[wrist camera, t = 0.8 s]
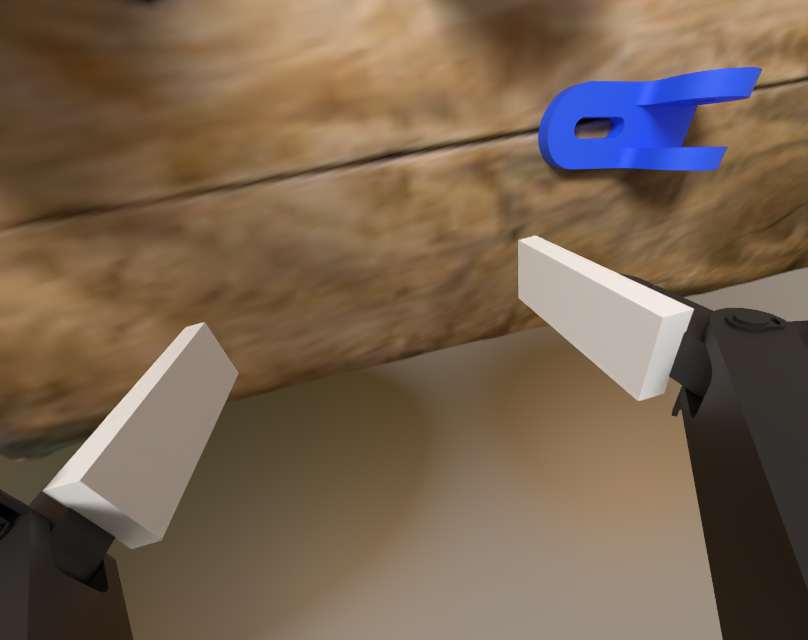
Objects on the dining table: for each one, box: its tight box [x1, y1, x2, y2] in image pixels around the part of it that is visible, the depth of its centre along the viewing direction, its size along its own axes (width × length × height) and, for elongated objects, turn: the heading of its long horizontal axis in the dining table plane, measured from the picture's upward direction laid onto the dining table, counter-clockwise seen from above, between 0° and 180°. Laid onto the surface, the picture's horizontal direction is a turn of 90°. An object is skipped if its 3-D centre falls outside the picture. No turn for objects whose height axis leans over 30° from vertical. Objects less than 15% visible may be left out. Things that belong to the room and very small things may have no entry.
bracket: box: [538, 67, 762, 170], centre depth 32 cm, size 18×8×9 cm, turn 91°
